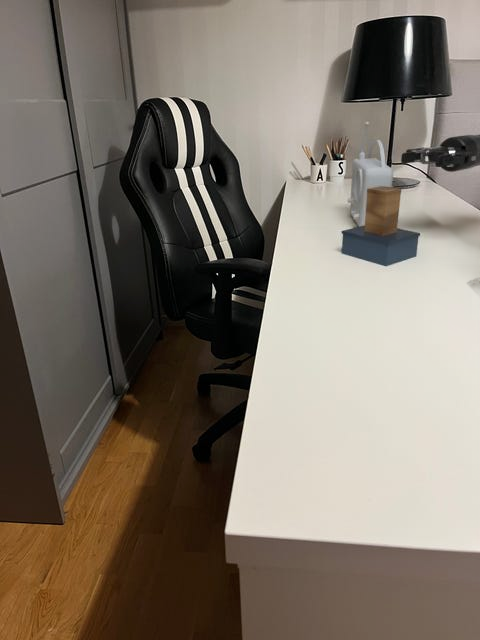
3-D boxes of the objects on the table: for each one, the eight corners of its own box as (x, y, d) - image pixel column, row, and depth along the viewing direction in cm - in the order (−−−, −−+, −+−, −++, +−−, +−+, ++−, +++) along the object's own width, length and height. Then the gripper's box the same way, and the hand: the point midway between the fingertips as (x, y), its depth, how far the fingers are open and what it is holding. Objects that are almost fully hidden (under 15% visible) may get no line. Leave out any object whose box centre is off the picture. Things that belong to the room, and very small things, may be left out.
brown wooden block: (397, 232, 105) (401, 188, 101) (383, 236, 103) (387, 191, 99) (377, 228, 109) (381, 185, 105) (363, 231, 106) (366, 188, 103)
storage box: (417, 256, 106) (420, 233, 104) (386, 266, 100) (388, 242, 98) (371, 244, 115) (373, 222, 113) (340, 253, 110) (341, 230, 107)
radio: (343, 213, 144) (348, 120, 134) (373, 213, 144) (380, 120, 133) (355, 233, 124) (362, 125, 114) (389, 232, 124) (399, 124, 114)
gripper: (437, 134, 118) (393, 139, 110) (495, 137, 108) (452, 143, 99) (433, 166, 122) (390, 174, 113) (489, 172, 111) (447, 182, 102)
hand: (419, 160), depth 106 cm, fingers open, 8 cm apart
